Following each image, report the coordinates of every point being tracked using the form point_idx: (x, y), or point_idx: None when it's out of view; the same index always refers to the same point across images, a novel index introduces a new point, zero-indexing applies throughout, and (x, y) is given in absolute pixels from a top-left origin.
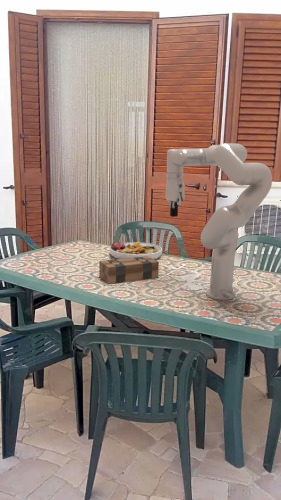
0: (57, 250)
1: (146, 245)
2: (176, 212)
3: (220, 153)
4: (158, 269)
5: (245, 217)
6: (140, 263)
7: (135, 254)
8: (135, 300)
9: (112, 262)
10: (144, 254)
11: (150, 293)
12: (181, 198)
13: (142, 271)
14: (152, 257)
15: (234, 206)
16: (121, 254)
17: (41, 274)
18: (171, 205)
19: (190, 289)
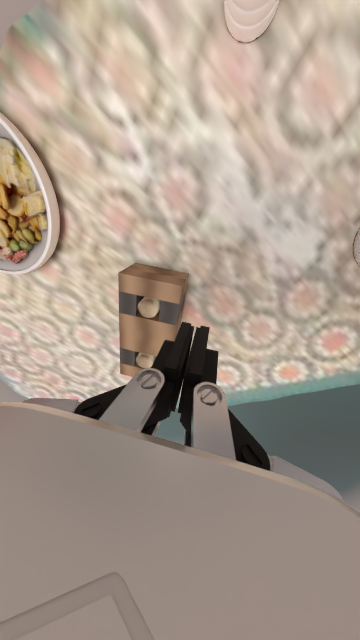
0: None
1: None
2: (216, 366)
3: None
4: (185, 279)
5: None
6: (171, 329)
7: (47, 245)
8: (263, 379)
9: (141, 365)
10: (50, 221)
11: (255, 345)
12: (308, 588)
13: (179, 317)
14: (52, 190)
15: None
16: (34, 269)
17: (93, 396)
18: (155, 429)
19: (301, 268)
